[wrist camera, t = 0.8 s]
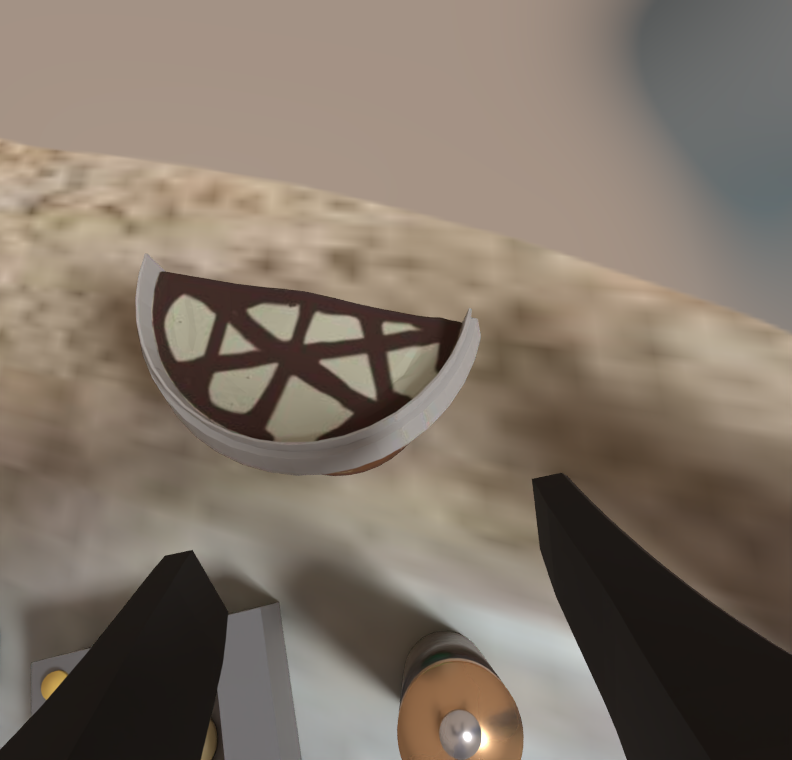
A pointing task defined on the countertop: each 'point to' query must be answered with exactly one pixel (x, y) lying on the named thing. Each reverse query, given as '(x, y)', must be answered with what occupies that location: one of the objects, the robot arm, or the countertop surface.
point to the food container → (297, 371)
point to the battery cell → (455, 704)
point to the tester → (227, 689)
